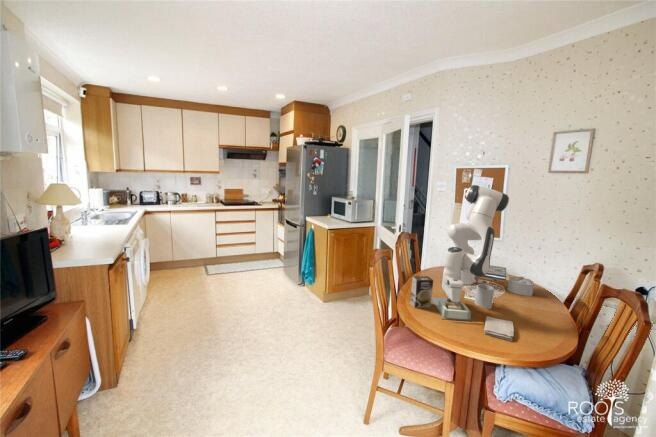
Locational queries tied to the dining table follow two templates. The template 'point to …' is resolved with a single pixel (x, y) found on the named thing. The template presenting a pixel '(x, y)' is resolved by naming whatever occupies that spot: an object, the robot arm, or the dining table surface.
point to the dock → (451, 313)
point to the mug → (484, 296)
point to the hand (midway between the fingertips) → (449, 302)
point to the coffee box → (421, 291)
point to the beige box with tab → (452, 305)
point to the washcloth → (499, 328)
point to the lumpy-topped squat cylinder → (521, 286)
